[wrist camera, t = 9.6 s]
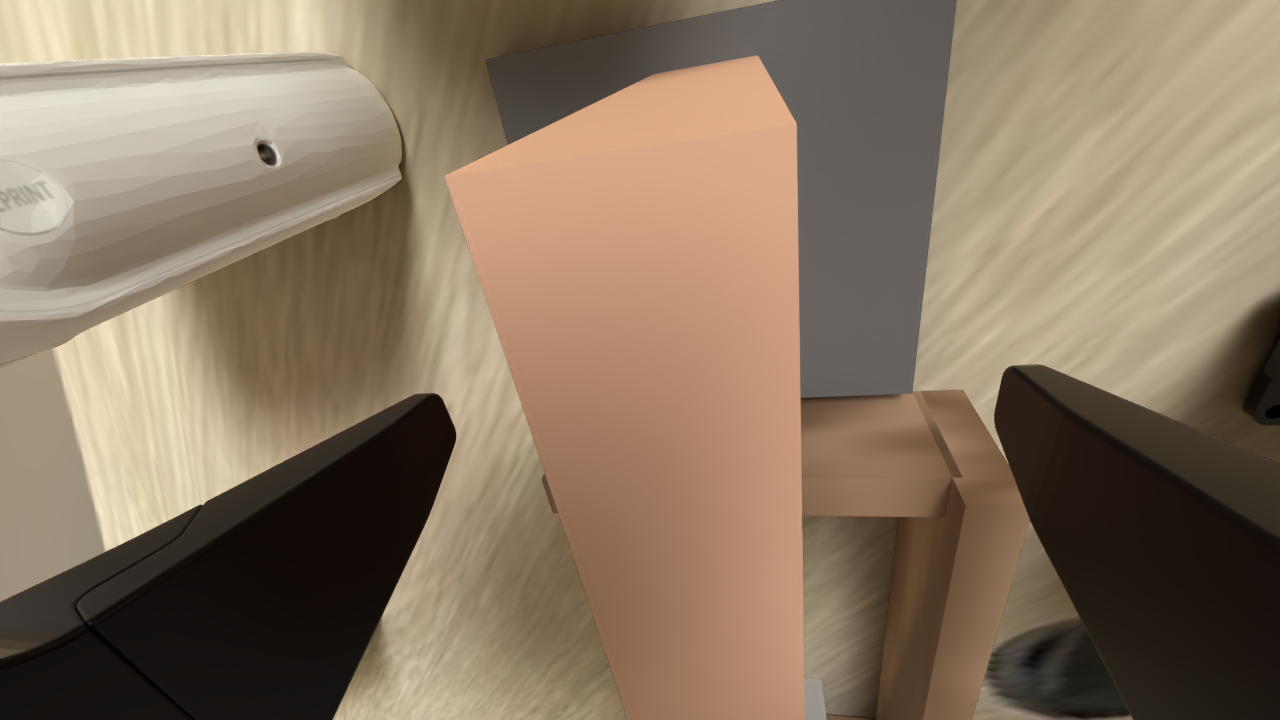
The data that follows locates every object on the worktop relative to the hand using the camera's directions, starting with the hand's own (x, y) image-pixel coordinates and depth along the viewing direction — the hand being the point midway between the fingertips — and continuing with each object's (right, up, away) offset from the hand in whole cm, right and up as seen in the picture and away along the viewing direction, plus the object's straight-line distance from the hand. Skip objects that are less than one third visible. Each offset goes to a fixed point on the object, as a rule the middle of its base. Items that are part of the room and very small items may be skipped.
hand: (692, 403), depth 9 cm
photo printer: (-13, +7, +9) cm, 17 cm away
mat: (+2, +4, +7) cm, 9 cm away
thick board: (+1, +4, +7) cm, 8 cm away
